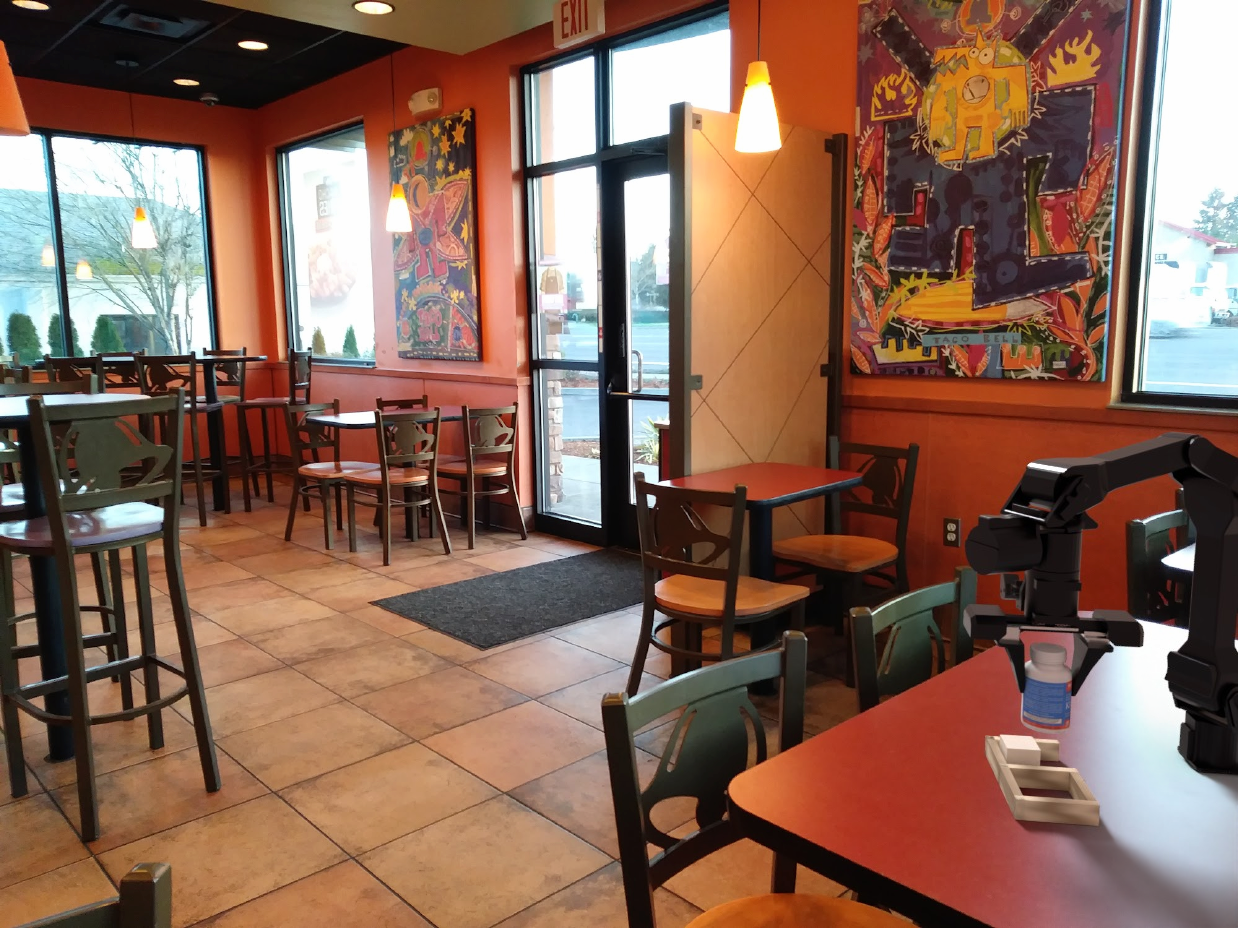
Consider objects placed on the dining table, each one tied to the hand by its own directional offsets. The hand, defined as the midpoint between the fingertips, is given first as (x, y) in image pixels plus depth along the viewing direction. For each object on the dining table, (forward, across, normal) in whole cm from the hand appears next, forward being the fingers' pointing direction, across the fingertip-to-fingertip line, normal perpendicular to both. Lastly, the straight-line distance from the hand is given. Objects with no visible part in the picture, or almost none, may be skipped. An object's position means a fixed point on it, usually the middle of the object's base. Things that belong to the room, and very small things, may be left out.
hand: (1046, 693), depth 108 cm
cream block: (+13, +1, -6) cm, 15 cm away
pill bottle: (+4, 0, 0) cm, 4 cm away
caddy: (+13, 0, -2) cm, 13 cm away
